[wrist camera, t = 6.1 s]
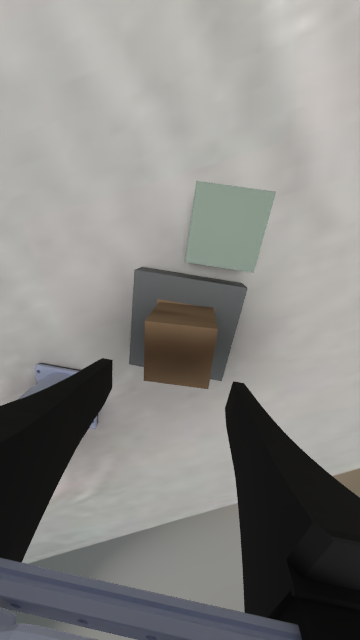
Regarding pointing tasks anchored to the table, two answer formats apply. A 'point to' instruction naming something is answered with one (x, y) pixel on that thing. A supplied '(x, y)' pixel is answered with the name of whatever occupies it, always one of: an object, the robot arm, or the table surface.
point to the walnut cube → (180, 344)
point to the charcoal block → (187, 291)
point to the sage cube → (227, 225)
